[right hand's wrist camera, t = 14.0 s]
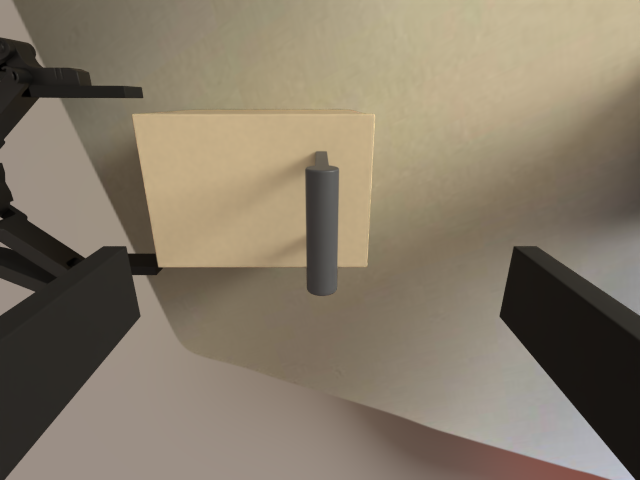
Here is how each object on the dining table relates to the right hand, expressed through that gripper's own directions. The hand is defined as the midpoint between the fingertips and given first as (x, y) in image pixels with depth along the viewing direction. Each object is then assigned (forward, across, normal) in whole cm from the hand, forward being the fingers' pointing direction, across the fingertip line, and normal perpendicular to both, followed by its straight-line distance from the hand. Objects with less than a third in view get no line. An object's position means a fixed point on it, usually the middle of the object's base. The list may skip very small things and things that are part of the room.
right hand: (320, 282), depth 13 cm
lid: (+13, -4, 0) cm, 13 cm away
